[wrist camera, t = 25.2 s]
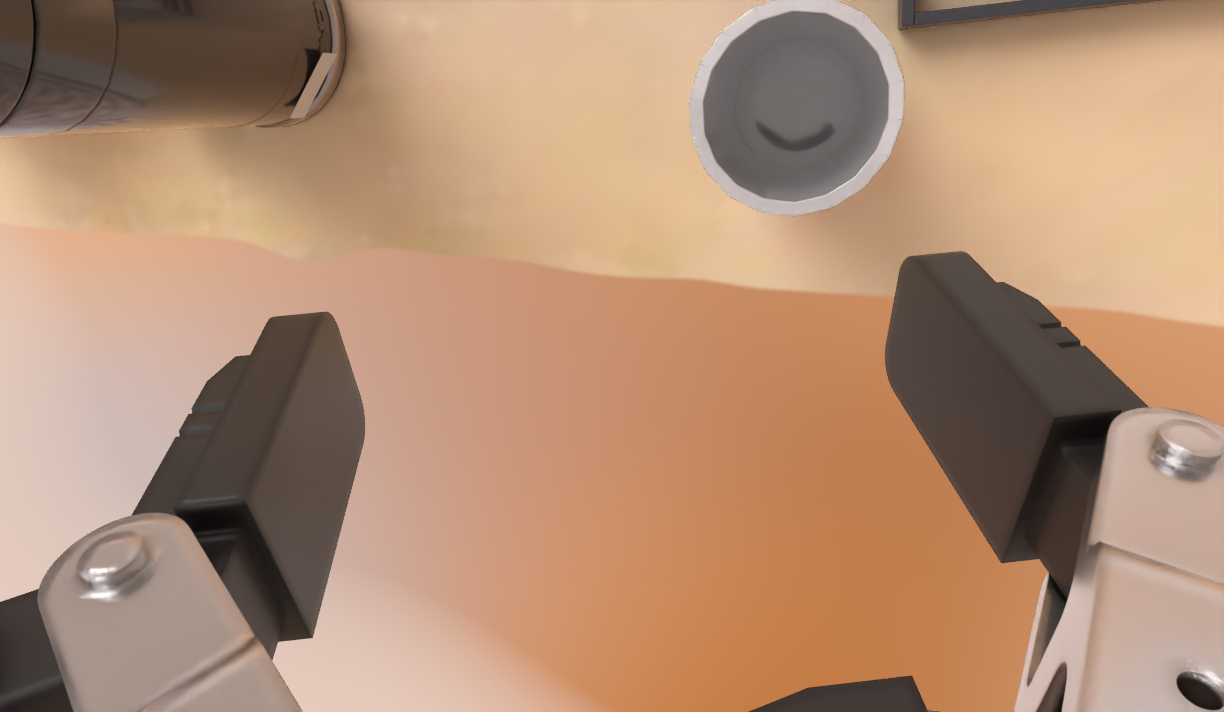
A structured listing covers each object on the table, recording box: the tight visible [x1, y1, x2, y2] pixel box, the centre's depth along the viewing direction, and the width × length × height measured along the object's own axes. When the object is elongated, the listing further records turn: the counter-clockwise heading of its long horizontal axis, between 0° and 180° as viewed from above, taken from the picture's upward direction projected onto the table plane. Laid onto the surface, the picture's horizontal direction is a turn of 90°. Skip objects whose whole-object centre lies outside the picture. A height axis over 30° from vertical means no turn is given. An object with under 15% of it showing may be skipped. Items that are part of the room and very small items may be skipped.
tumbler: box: [689, 0, 905, 216], centre depth 29 cm, size 6×6×13 cm
